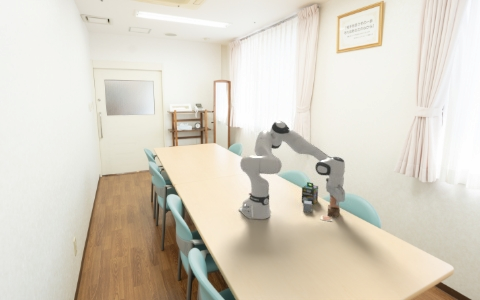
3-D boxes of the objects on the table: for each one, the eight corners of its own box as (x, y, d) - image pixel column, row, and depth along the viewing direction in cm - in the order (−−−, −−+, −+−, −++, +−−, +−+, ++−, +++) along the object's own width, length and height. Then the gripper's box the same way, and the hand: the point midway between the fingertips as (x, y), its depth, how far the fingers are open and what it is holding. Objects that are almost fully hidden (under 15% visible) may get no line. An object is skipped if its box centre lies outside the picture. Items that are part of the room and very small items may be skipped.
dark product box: (317, 200, 195) (319, 181, 192) (313, 205, 187) (314, 185, 184) (305, 198, 200) (306, 179, 197) (301, 201, 193) (302, 182, 189)
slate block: (303, 211, 177) (303, 203, 175) (303, 208, 181) (304, 200, 180) (310, 212, 175) (311, 204, 174) (311, 209, 180) (311, 201, 178)
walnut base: (327, 216, 171) (328, 208, 170) (327, 211, 177) (328, 204, 176) (339, 217, 169) (339, 210, 168) (338, 213, 175) (339, 206, 174)
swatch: (320, 219, 165) (320, 219, 165) (320, 215, 171) (321, 215, 170) (332, 221, 163) (332, 220, 163) (332, 217, 168) (332, 216, 168)
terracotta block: (330, 206, 170) (331, 198, 169) (329, 203, 175) (330, 195, 173) (338, 207, 169) (339, 199, 167) (337, 204, 173) (338, 196, 172)
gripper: (348, 188, 158) (346, 209, 161) (334, 177, 178) (332, 196, 181) (338, 188, 158) (336, 209, 161) (325, 177, 178) (323, 196, 181)
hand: (334, 202), depth 171 cm, fingers closed on terracotta block, 6 cm apart
